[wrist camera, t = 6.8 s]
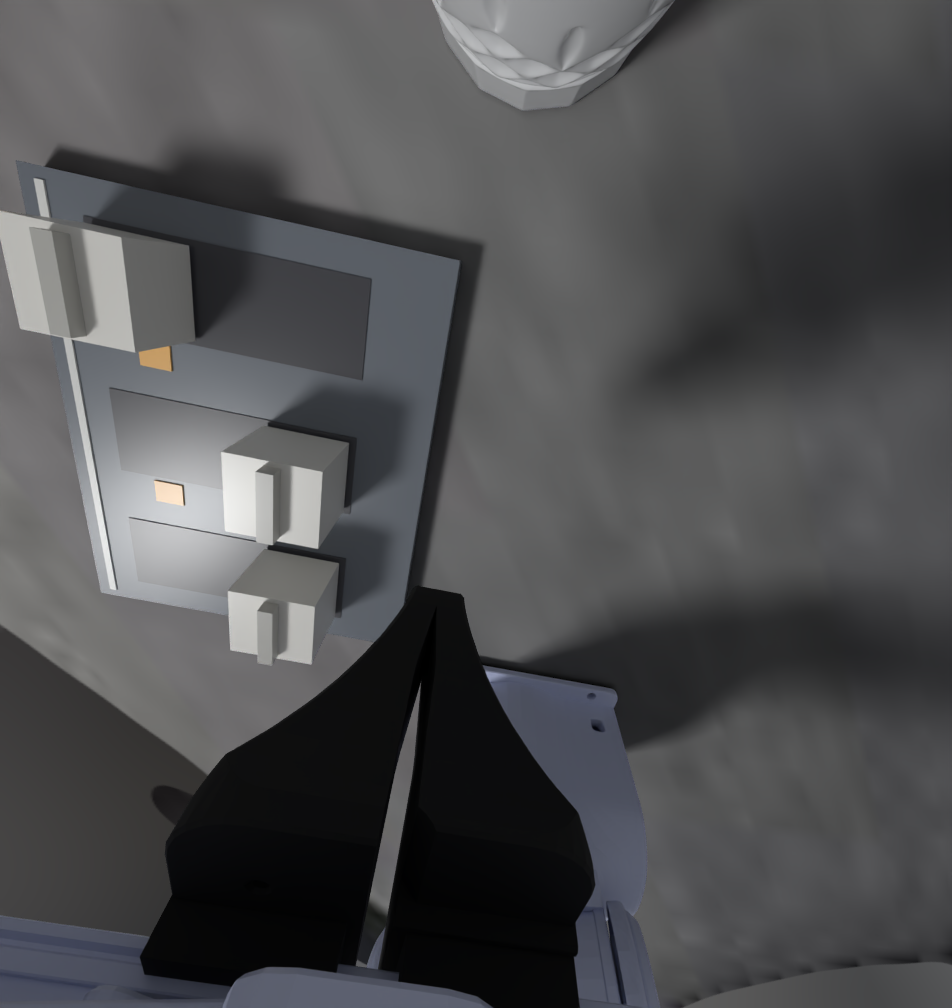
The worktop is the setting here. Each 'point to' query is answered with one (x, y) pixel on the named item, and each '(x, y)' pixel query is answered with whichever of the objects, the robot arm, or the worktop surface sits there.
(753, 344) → the worktop surface
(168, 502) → the switch bank
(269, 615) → the light grey block
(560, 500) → the worktop surface
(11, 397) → the worktop surface
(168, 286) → the tab
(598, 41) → the white cup
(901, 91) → the worktop surface
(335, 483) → the tab
